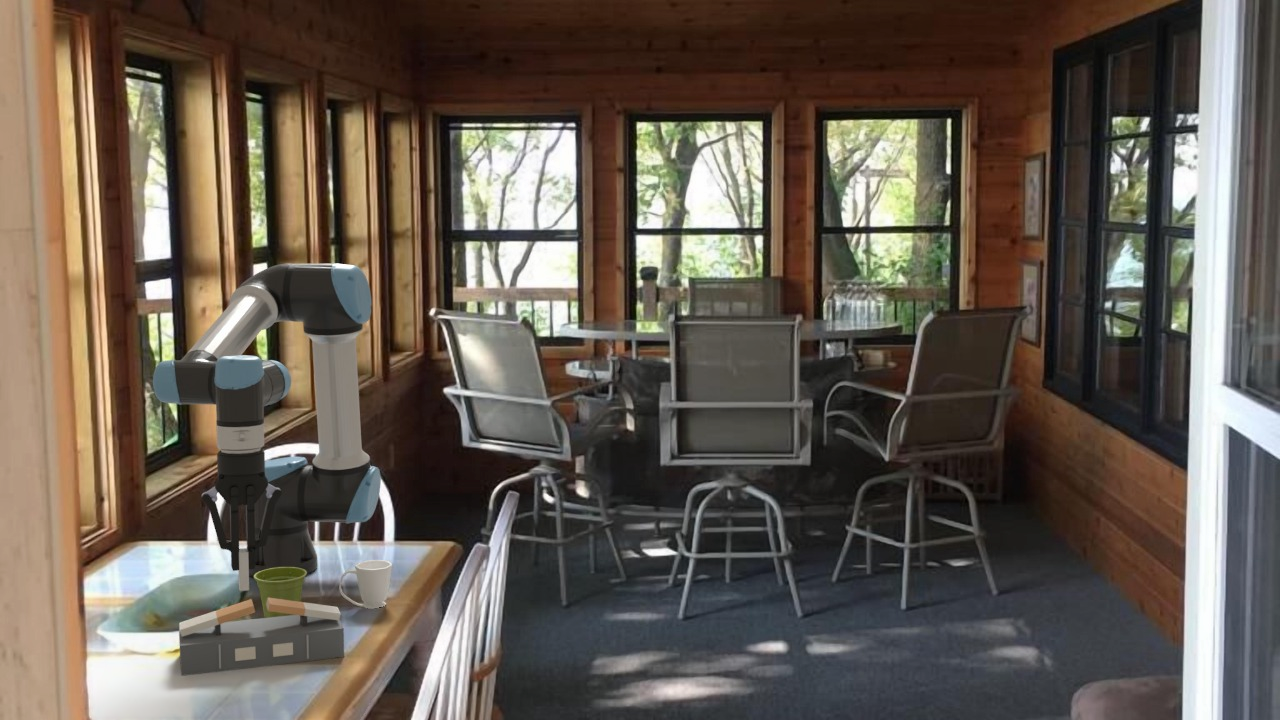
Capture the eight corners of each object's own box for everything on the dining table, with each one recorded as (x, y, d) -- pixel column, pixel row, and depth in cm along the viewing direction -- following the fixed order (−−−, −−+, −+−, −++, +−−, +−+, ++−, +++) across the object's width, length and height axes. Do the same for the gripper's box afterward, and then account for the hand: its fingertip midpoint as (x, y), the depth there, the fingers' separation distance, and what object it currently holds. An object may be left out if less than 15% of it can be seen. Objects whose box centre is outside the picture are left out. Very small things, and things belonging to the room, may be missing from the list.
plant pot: (260, 630, 231) (259, 583, 230) (250, 615, 239) (249, 570, 238) (313, 623, 235) (312, 577, 234) (301, 608, 243) (300, 564, 242)
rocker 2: (266, 604, 219) (267, 597, 219) (335, 613, 223) (337, 606, 223) (268, 611, 215) (269, 604, 215) (339, 620, 219) (340, 613, 219)
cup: (392, 610, 243) (391, 569, 242) (338, 612, 241) (337, 570, 240) (393, 599, 250) (393, 559, 249) (341, 601, 248) (340, 560, 247)
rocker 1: (181, 629, 214) (179, 622, 214) (253, 605, 218) (251, 598, 218) (181, 636, 210) (179, 630, 210) (255, 612, 214) (253, 605, 214)
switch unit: (179, 655, 217) (178, 617, 217) (336, 638, 227) (335, 602, 226) (181, 676, 208) (180, 636, 207) (344, 657, 217) (343, 619, 216)
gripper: (200, 455, 207) (203, 598, 209) (283, 451, 211) (286, 590, 214) (198, 447, 213) (202, 586, 216) (279, 443, 218) (281, 579, 221)
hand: (243, 588), depth 215 cm, fingers closed
